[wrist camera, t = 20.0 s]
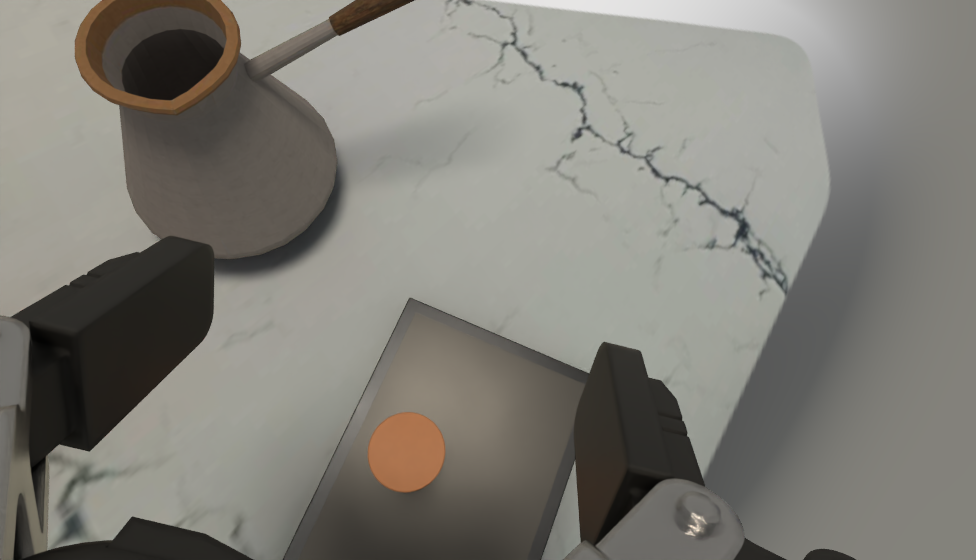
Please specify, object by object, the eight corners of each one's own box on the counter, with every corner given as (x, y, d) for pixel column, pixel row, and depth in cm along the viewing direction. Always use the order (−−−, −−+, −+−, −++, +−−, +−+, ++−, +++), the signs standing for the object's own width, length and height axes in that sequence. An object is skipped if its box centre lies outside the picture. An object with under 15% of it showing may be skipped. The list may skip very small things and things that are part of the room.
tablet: (597, 381, 34) (603, 378, 33) (495, 680, 29) (497, 687, 28) (410, 302, 35) (409, 296, 34) (275, 581, 29) (269, 584, 28)
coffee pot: (169, 300, 33) (-23, 168, 19) (135, 133, 36) (-52, -87, 22) (516, 201, 37) (568, 32, 23) (458, 58, 41) (473, -167, 26)
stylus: (448, 446, 31) (457, 430, 21) (427, 496, 30) (426, 505, 20) (402, 426, 31) (388, 400, 21) (380, 475, 30) (353, 473, 20)
